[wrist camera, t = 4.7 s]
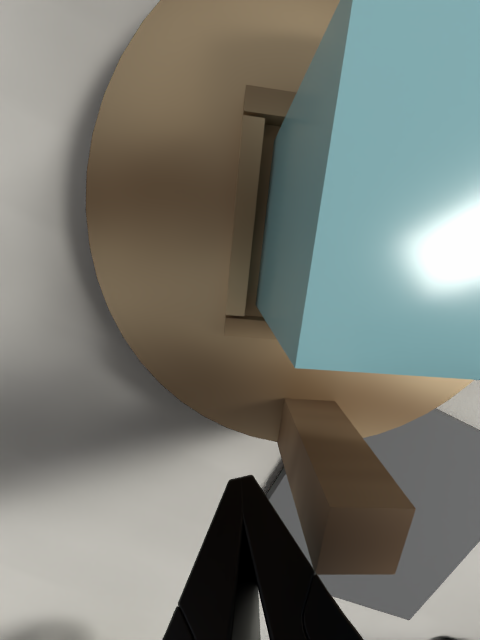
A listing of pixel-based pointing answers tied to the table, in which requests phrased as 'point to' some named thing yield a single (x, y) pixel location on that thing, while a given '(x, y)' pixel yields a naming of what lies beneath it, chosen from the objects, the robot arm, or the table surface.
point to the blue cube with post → (380, 196)
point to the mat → (429, 518)
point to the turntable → (236, 262)
